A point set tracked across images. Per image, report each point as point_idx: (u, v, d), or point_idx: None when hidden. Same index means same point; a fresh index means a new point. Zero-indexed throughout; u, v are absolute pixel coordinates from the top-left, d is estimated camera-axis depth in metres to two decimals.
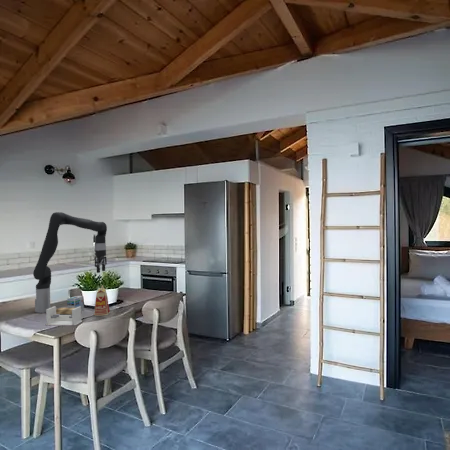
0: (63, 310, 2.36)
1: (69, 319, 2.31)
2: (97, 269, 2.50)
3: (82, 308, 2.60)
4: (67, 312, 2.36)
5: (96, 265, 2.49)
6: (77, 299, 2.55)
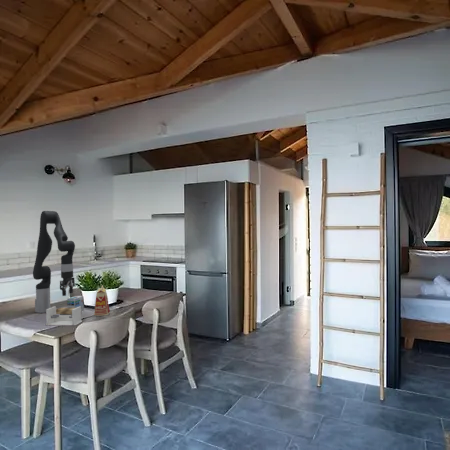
0: (63, 310, 2.36)
1: (69, 319, 2.31)
2: (63, 292, 2.33)
3: (82, 308, 2.60)
4: (67, 312, 2.36)
5: (61, 288, 2.31)
6: (77, 299, 2.55)
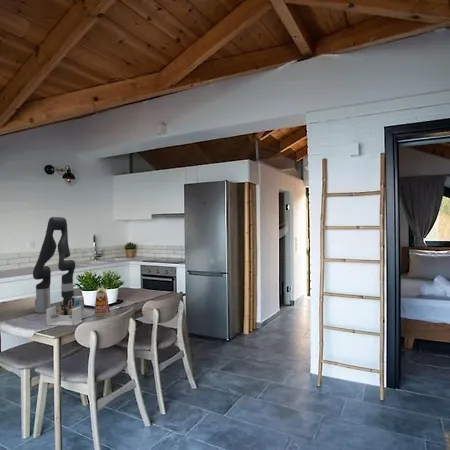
0: (63, 310, 2.36)
1: (69, 319, 2.31)
2: (64, 312, 2.35)
3: (82, 308, 2.60)
4: None
5: (63, 308, 2.33)
6: (77, 299, 2.55)
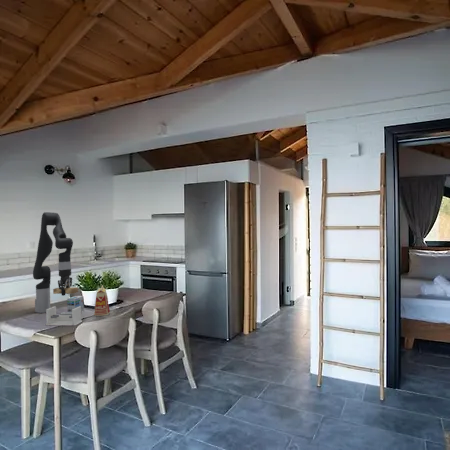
0: None
1: (69, 319, 2.31)
2: (62, 292, 2.27)
3: (82, 308, 2.60)
4: (65, 291, 2.28)
5: (60, 287, 2.25)
6: (77, 299, 2.55)
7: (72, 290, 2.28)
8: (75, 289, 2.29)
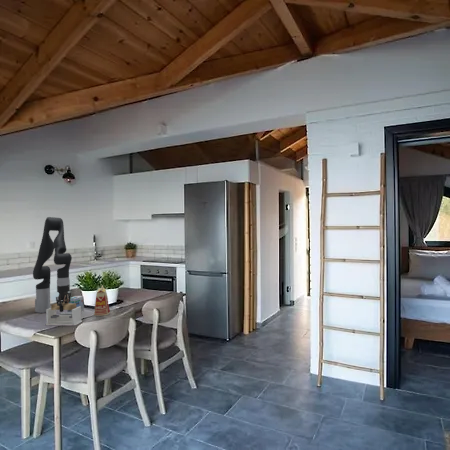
0: None
1: (69, 319, 2.31)
2: (60, 308, 2.24)
3: (82, 308, 2.60)
4: (63, 308, 2.26)
5: (59, 304, 2.23)
6: (77, 299, 2.55)
7: (70, 306, 2.25)
8: (73, 305, 2.27)
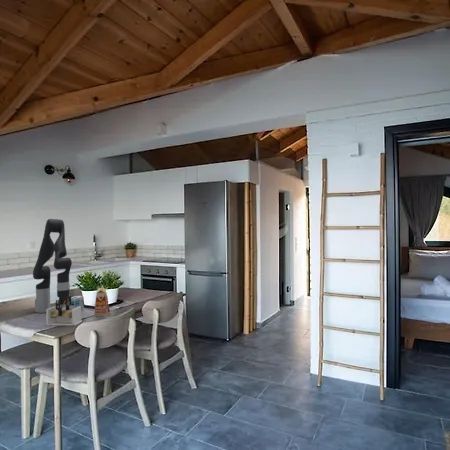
0: None
1: (69, 319, 2.31)
2: (59, 312, 2.23)
3: (82, 308, 2.60)
4: (63, 314, 2.26)
5: (57, 308, 2.21)
6: (77, 299, 2.55)
7: (70, 313, 2.25)
8: None
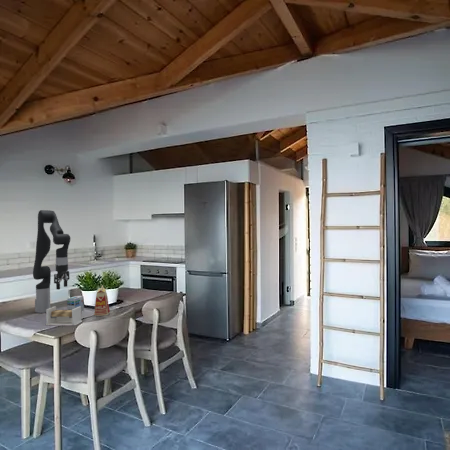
0: (59, 312, 2.26)
1: (69, 319, 2.31)
2: (57, 286, 2.30)
3: (82, 308, 2.60)
4: (63, 314, 2.26)
5: (55, 281, 2.29)
6: (77, 299, 2.55)
7: (70, 313, 2.25)
8: None
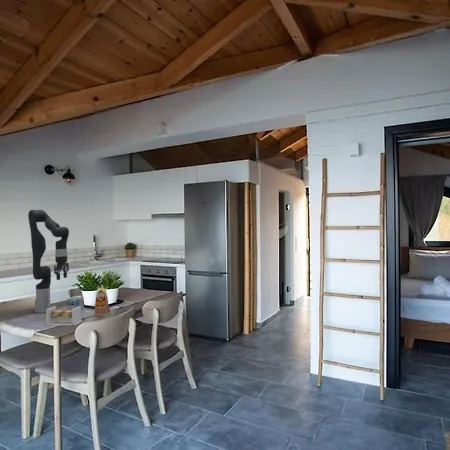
0: (59, 312, 2.26)
1: (69, 319, 2.31)
2: (57, 276, 2.41)
3: (82, 308, 2.60)
4: (63, 314, 2.26)
5: (55, 272, 2.39)
6: (77, 299, 2.55)
7: (70, 313, 2.25)
8: None
